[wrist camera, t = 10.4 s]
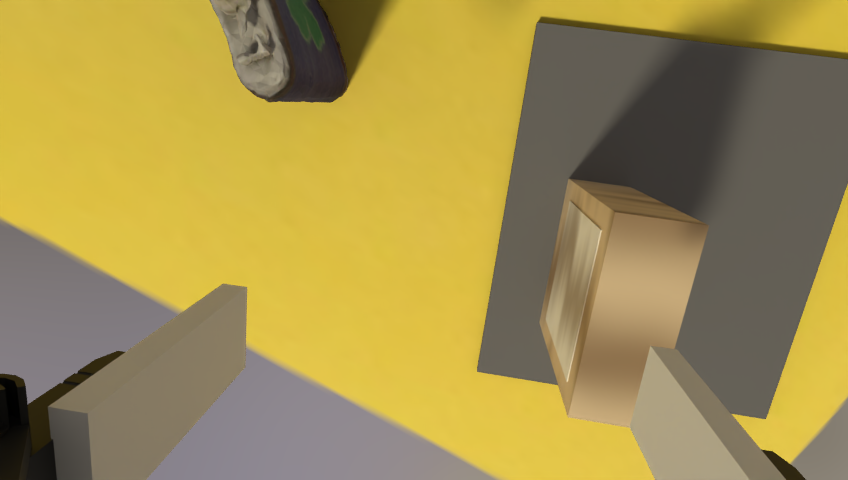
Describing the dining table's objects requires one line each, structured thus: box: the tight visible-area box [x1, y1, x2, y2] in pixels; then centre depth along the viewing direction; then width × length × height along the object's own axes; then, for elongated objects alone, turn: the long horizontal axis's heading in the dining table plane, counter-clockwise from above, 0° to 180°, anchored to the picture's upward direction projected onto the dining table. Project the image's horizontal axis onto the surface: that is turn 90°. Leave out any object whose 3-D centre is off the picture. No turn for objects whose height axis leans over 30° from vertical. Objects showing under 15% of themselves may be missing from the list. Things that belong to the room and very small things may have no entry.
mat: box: [477, 22, 848, 419], centre depth 29 cm, size 21×18×1 cm
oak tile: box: [539, 179, 709, 428], centre depth 25 cm, size 9×4×10 cm, turn 173°
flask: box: [210, 0, 348, 103], centre depth 23 cm, size 9×3×11 cm, turn 25°
